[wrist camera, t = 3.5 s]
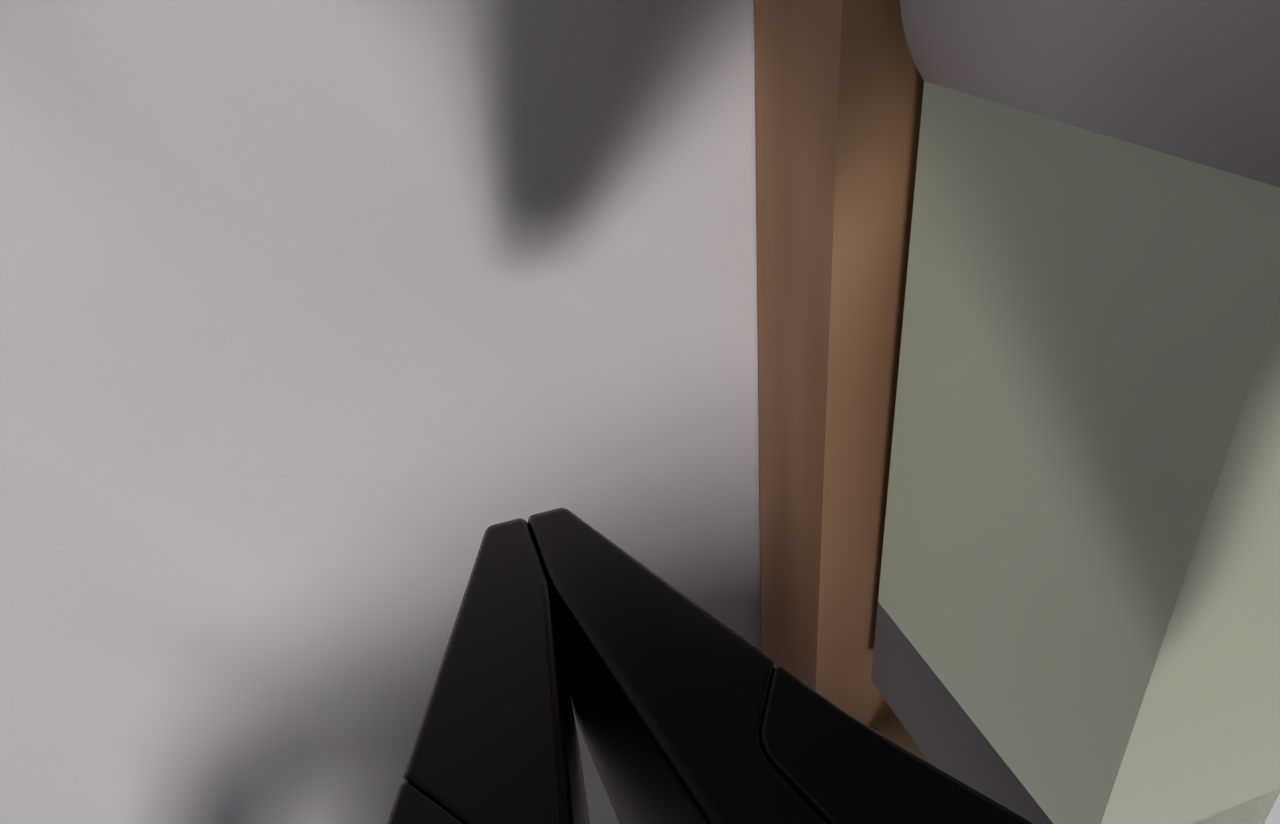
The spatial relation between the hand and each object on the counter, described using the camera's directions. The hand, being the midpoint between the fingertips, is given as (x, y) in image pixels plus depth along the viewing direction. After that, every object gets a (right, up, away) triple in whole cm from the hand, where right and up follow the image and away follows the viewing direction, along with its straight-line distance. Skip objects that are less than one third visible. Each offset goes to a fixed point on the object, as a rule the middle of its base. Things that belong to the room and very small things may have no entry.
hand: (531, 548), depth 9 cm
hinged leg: (+5, +2, +1) cm, 6 cm away
